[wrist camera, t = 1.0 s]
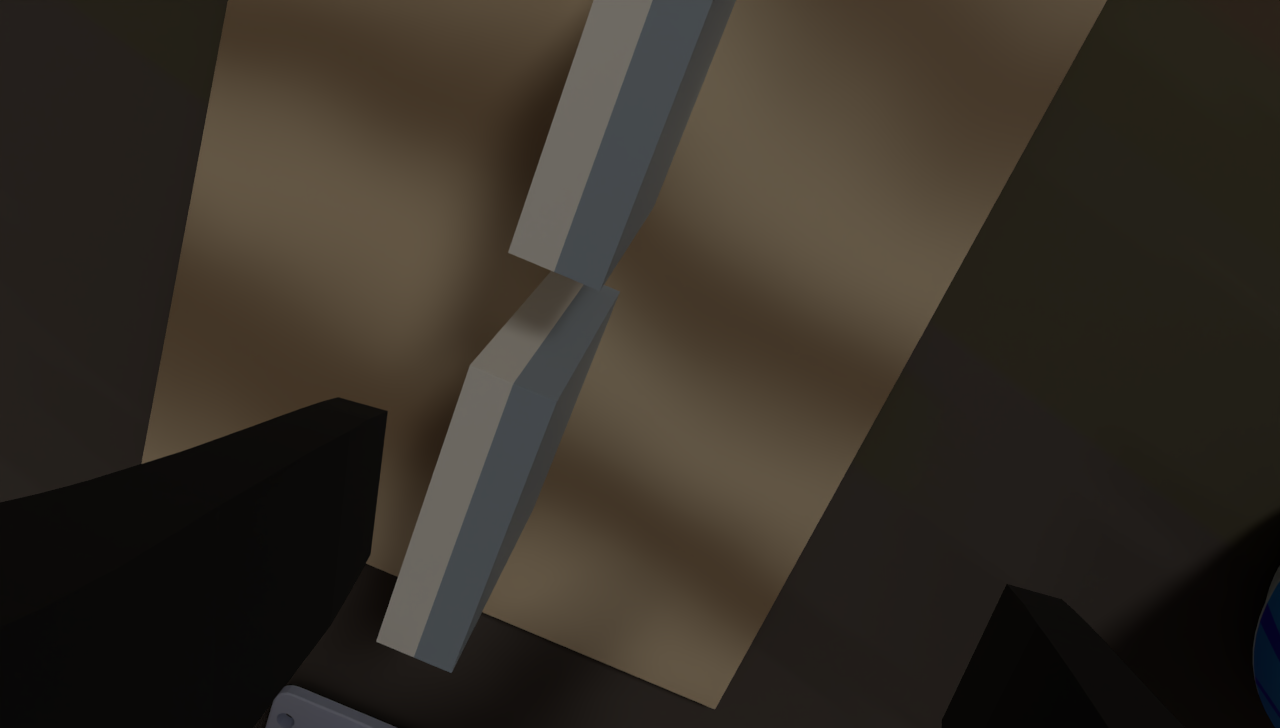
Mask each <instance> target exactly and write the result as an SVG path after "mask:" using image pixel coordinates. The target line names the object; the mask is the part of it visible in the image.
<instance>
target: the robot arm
mask: <svg viewBox="0 0 1280 728" xmlns="http://www.w3.org/2000/svg"><path fill="white" fill-rule="evenodd" d="M387 414H388V411H386V410H383V409H379V408H375V407H372V406H368V405H365V404H361V403H357V402H354V401H350V400H347V399H343V398H340V397H337V398H333V399H329V400H325V401H322V402H319V403H316V404H313V405H310V406H307V407H304V408H301V409H298V410H295V411H293V412H290V413H287V414H284V415H282V416H279V417H276V418H273V419H271V420H268V421H265V422H262V423H260V424H257V425H254V426H252V427H249V428H246V429H243V430H240V431H238V432H235V433H232V434H229V435H226V436H224V437H221V438H218V439H215V440H212V441H210V442H207V443H204V444H201V445H198V446H196V447H193V448H190V449H187V450H184V451H181V452H178V453H175V454H172V455H169V456H165V457H162V458H159V459H156V460H153V461H149V462H146V463H143V464H140V465H137V466H133V467H130V468H127V469H124V470H121V471H117V472H114V473H111V474H108V475H105V476H102V477H98V478H95V479H92V480H89V481H85V482H81V483H78V484H74V485H70V486H67V487H63V488H59V489H55V490H51V491H47V492H44V493H40V494H36V495H32V496H27V497H23V498H19V499H14V500H10V501H5V502H1V503H0V728H253V726H254V725H255V724H256V723H257V721H258V720H259V719H260V717H261V716H262V715H263V713H264V712H265V711H266V709H267V708H268V707H269V706H270V704H271V703H272V702H273V703H272V707H271V710H270V714H269V717H268V720H267V724H266V727H265V728H397V727H395V726H392V725H390V724H387V723H385V722H383V721H380V720H378V719H375V718H373V717H371V716H368V715H366V714H363V713H361V712H359V711H356V710H354V709H352V708H349V707H347V706H344V705H342V704H340V703H337V702H335V701H332V700H330V699H328V698H325V697H323V696H320V695H318V694H316V693H313V692H311V691H308V690H306V689H304V688H301V687H298V686H294V685H288V686H285V685H286V684H287V682H288V681H289V680H290V678H291V677H292V676H293V674H294V673H295V672H296V670H297V669H298V668H299V666H300V665H301V664H302V662H303V661H304V660H305V658H306V657H307V656H308V654H309V653H310V652H311V651H312V649H313V648H314V647H315V645H316V644H317V643H318V641H319V640H320V639H321V637H322V636H323V634H324V633H325V632H326V630H327V629H328V628H329V626H330V625H331V623H332V622H333V620H334V618H335V616H336V615H337V613H338V611H339V610H340V608H341V606H342V605H343V603H344V601H345V600H346V598H347V596H348V594H349V593H350V591H351V589H352V587H353V585H354V584H355V582H356V580H357V578H358V576H359V575H360V573H361V571H362V569H363V567H364V566H365V564H366V562H367V560H368V558H369V557H370V555H371V547H372V539H373V531H374V522H375V514H376V506H377V497H378V489H379V481H380V472H381V464H382V456H383V447H384V439H385V431H386V422H387ZM284 686H285V687H284ZM286 714H288V715H290V716H291V717H292V718H291V717H289V716H288V715H286ZM942 728H1185V727H1184V726H1183V725H1182V724H1181V723H1180V722H1179V721H1178V720H1177V719H1176V718H1175V717H1174V715H1173V714H1172V713H1171V712H1170V711H1169V710H1168V709H1167V708H1166V707H1165V706H1164V705H1163V704H1162V703H1161V702H1160V700H1159V699H1158V698H1157V697H1156V696H1155V695H1154V694H1153V693H1152V692H1151V691H1150V690H1149V689H1148V688H1147V686H1146V685H1145V684H1144V683H1143V682H1142V681H1141V680H1140V679H1139V678H1138V677H1137V676H1136V675H1135V674H1134V672H1133V671H1132V670H1131V669H1130V668H1129V667H1128V666H1127V665H1126V664H1125V663H1124V662H1123V661H1122V659H1121V658H1120V657H1119V656H1118V655H1117V654H1116V653H1115V652H1114V651H1113V650H1112V649H1111V648H1110V647H1109V646H1108V645H1107V643H1106V642H1105V641H1104V640H1103V639H1102V638H1101V637H1100V636H1099V635H1098V634H1097V633H1096V632H1095V631H1094V630H1093V629H1092V628H1091V627H1090V626H1089V625H1088V624H1087V623H1086V622H1085V621H1084V620H1083V619H1082V618H1081V617H1080V616H1079V615H1078V614H1077V613H1076V612H1075V611H1074V610H1073V609H1072V608H1071V607H1070V606H1069V605H1067V604H1066V603H1065V602H1064V601H1063V600H1062V599H1058V598H1055V597H1051V596H1048V595H1044V594H1040V593H1037V592H1033V591H1030V590H1026V589H1022V588H1019V587H1015V586H1012V585H1008V584H1007V585H1006V587H1005V589H1004V591H1003V593H1002V595H1001V597H1000V599H999V602H998V604H997V606H996V608H995V610H994V612H993V614H992V616H991V618H990V620H989V623H988V625H987V627H986V629H985V631H984V633H983V635H982V637H981V639H980V641H979V644H978V646H977V648H976V650H975V652H974V654H973V656H972V658H971V660H970V662H969V665H968V667H967V669H966V671H965V673H964V675H963V677H962V679H961V681H960V683H959V686H958V688H957V690H956V692H955V694H954V696H953V698H952V700H951V702H950V704H949V706H948V709H947V711H946V713H945V715H944V717H943V719H942Z"/></svg>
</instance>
